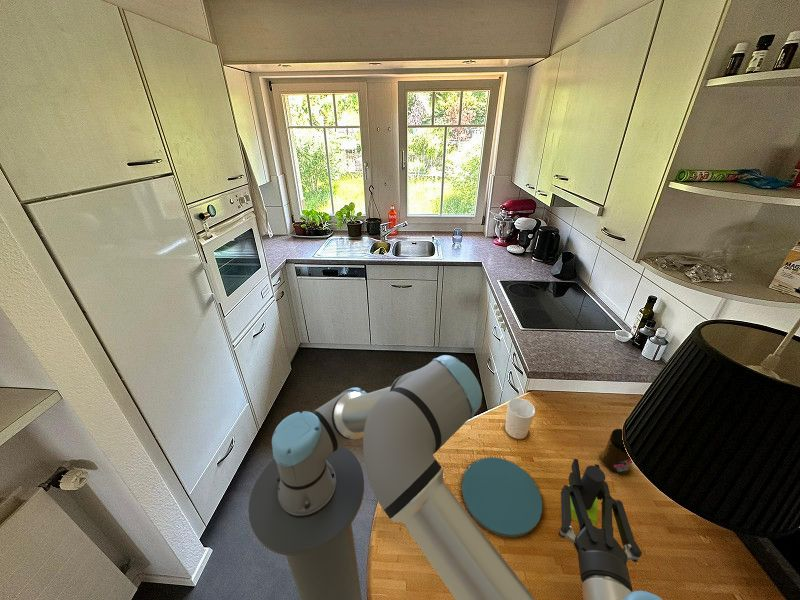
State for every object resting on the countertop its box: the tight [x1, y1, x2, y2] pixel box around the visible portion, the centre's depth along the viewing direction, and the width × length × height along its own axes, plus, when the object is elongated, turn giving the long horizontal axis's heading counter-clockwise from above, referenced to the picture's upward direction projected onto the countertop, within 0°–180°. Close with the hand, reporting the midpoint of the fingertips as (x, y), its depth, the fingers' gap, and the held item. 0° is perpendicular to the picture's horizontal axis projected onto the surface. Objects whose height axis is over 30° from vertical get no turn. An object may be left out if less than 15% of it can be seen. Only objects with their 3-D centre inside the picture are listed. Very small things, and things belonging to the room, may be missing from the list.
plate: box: [461, 457, 543, 538], centre depth 84 cm, size 20×20×1 cm
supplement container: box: [601, 428, 633, 474], centre depth 90 cm, size 7×7×10 cm
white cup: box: [504, 397, 536, 440], centre depth 100 cm, size 8×8×10 cm
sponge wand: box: [567, 465, 606, 527], centre depth 70 cm, size 6×6×13 cm
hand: (584, 465), depth 73 cm, fingers closed on sponge wand, 4 cm apart
